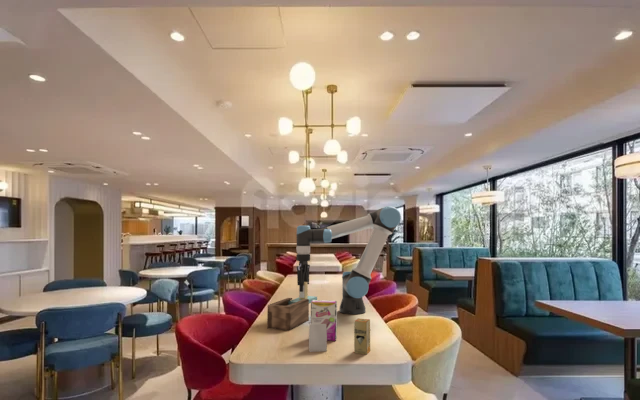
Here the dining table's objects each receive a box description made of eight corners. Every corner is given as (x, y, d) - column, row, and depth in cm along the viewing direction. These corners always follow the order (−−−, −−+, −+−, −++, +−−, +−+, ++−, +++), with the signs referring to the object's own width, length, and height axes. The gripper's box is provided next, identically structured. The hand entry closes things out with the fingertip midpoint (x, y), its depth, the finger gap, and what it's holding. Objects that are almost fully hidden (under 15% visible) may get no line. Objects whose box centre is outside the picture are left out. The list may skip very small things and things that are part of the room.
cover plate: (317, 299, 223) (317, 280, 224) (303, 305, 204) (303, 284, 205) (303, 298, 226) (303, 279, 227) (288, 304, 207) (288, 284, 208)
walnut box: (308, 320, 207) (308, 299, 208) (290, 330, 185) (290, 306, 186) (287, 318, 211) (288, 297, 212) (267, 328, 190) (267, 305, 190)
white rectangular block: (326, 351, 154) (326, 325, 155) (309, 351, 153) (309, 325, 154) (325, 348, 157) (325, 322, 158) (308, 348, 157) (308, 323, 158)
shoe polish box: (358, 349, 156) (357, 318, 157) (370, 350, 154) (370, 319, 155) (354, 352, 152) (354, 320, 153) (366, 354, 150) (366, 322, 151)
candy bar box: (310, 340, 168) (310, 301, 170) (311, 337, 173) (311, 299, 175) (336, 341, 167) (336, 302, 169) (337, 338, 172) (336, 300, 174)
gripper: (302, 252, 226) (302, 294, 225) (290, 254, 211) (290, 299, 209) (315, 252, 224) (315, 295, 222) (303, 254, 208) (304, 299, 206)
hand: (303, 296), depth 216 cm, fingers closed on cover plate, 3 cm apart
